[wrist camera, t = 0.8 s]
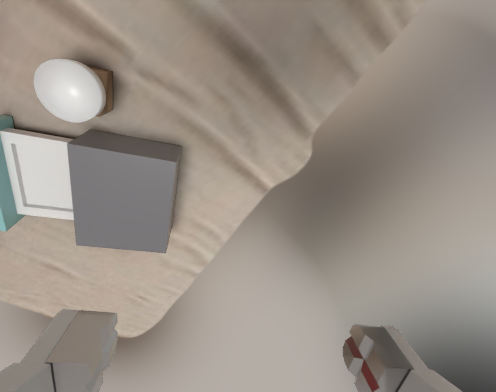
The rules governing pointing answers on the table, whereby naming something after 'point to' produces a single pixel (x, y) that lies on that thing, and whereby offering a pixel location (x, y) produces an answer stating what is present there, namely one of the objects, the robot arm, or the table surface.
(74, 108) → the disc
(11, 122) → the tray
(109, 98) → the walnut block
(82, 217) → the grey drawer box
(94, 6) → the table surface
